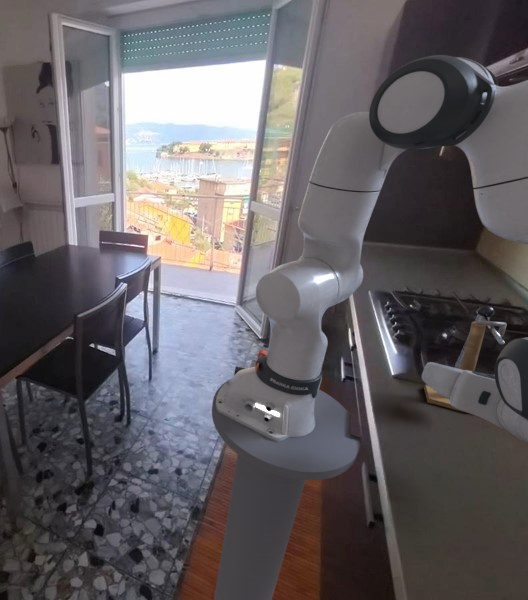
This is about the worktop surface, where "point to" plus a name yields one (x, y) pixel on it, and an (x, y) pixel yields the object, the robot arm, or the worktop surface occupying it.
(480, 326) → the wooden post on base
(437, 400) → the wood and metal stand
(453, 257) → the worktop surface
